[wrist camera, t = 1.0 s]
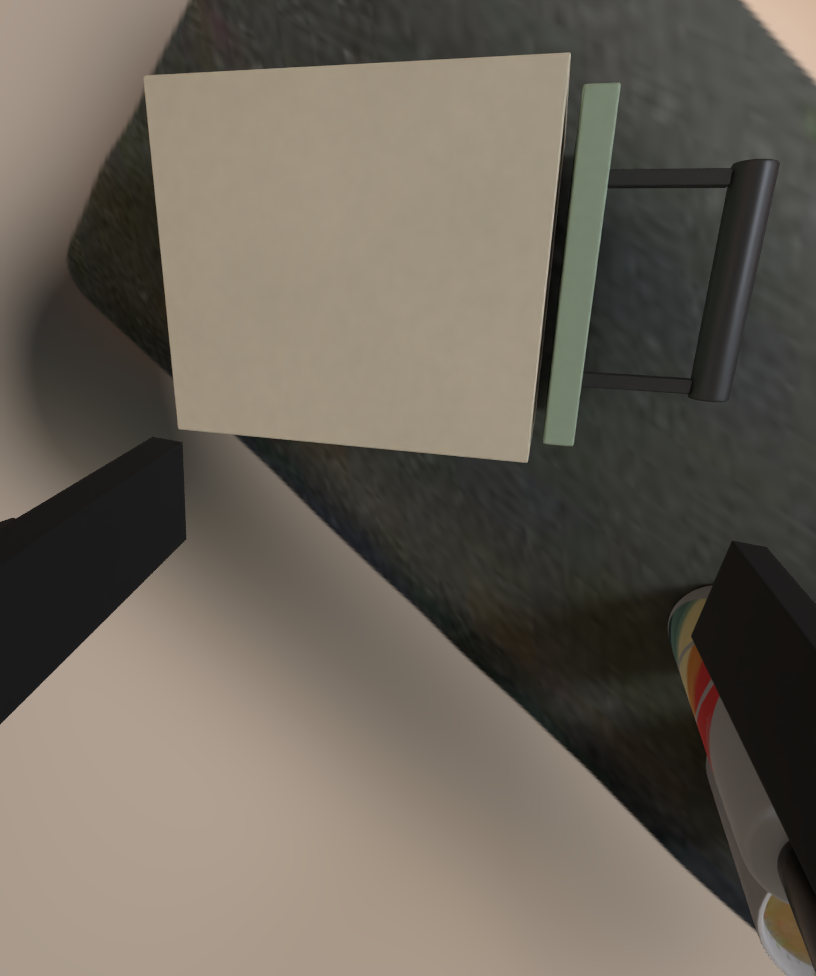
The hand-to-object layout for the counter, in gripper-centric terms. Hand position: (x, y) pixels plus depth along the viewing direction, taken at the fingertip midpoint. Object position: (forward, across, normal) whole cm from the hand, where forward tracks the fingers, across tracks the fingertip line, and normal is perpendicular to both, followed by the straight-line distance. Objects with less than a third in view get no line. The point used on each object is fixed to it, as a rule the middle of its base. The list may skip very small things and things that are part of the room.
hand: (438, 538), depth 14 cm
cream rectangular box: (+21, -4, +4) cm, 22 cm away
